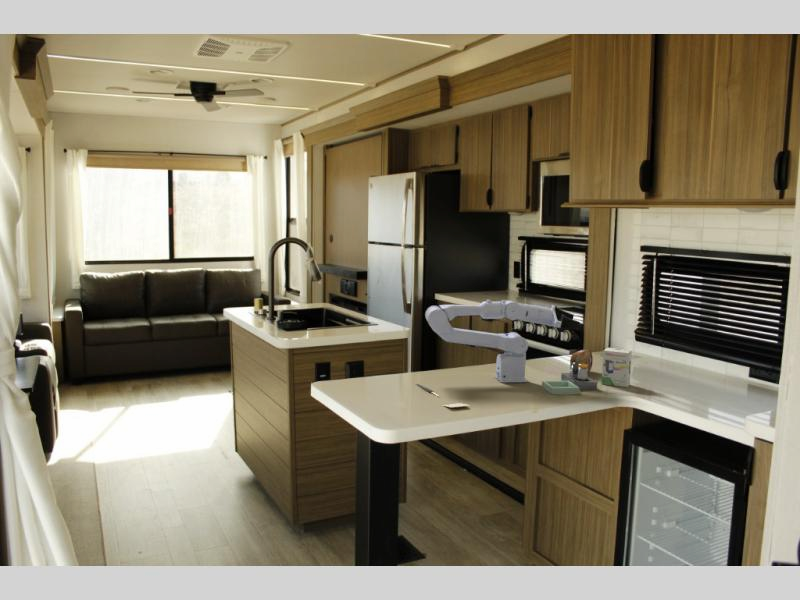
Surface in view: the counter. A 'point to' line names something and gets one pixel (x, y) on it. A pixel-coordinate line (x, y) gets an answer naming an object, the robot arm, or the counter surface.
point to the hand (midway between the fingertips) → (576, 321)
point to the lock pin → (582, 372)
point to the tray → (560, 387)
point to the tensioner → (573, 378)
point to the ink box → (616, 367)
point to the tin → (582, 358)
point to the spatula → (438, 395)
